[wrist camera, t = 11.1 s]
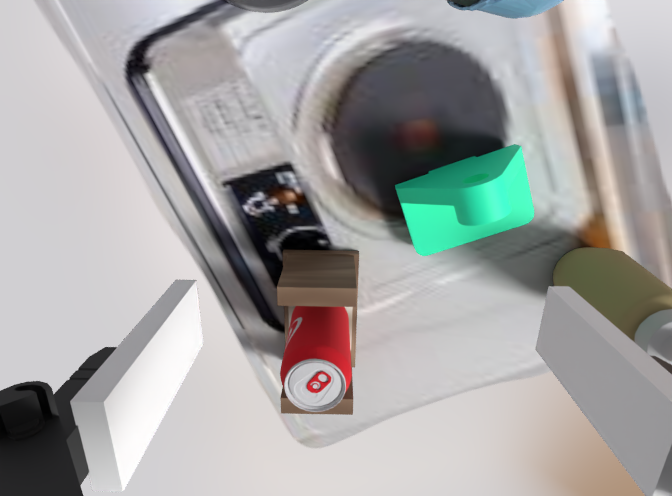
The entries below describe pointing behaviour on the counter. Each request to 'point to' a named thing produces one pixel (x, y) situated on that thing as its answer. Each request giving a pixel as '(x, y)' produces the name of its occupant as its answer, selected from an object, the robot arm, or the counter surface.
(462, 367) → the counter surface
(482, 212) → the camera mount
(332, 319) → the beverage can
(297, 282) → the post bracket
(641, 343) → the squeeze bottle
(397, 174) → the counter surface
